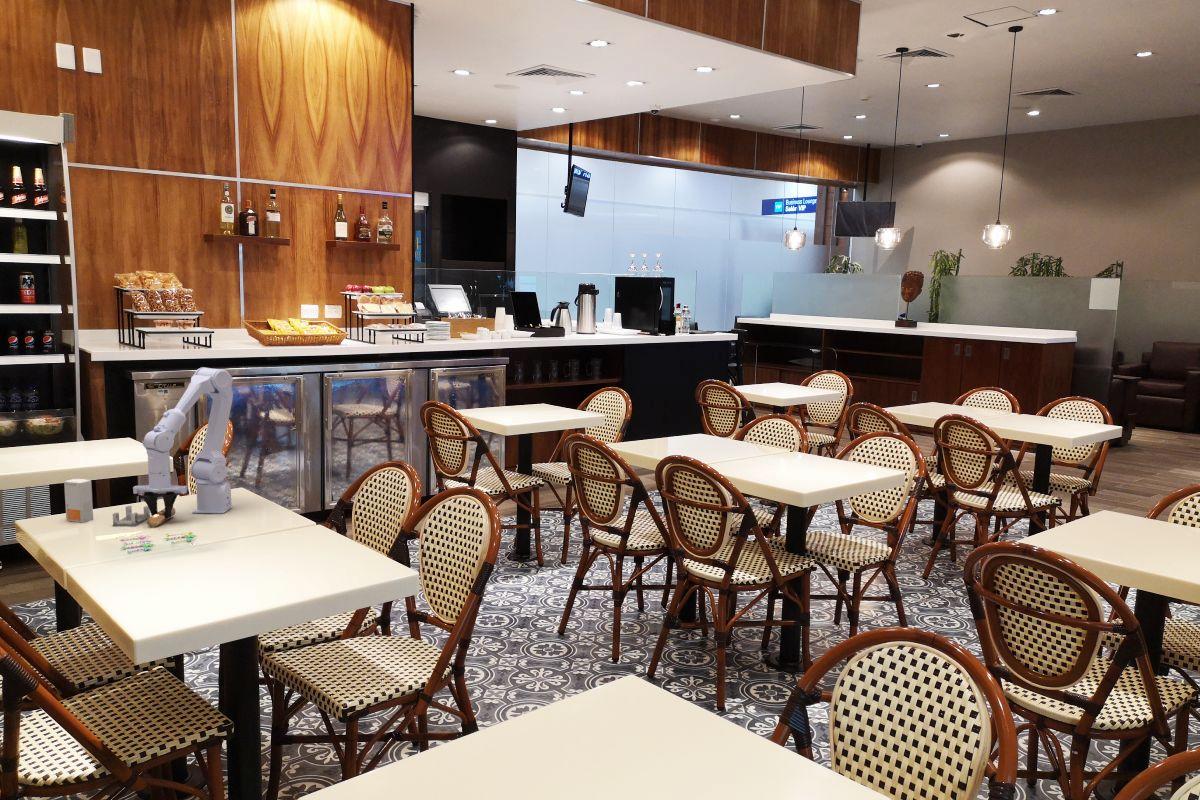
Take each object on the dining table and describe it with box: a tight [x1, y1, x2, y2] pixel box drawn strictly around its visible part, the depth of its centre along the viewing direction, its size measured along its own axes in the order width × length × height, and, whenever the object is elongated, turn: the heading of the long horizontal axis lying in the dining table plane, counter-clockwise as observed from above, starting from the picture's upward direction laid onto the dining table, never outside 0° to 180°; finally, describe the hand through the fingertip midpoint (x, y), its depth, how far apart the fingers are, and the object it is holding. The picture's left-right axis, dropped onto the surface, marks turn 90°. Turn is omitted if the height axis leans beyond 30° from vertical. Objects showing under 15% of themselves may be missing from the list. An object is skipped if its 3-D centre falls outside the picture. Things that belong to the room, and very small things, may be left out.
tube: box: [146, 507, 176, 528], centre depth 264 cm, size 12×3×3 cm, turn 3°
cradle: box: [112, 505, 151, 527], centre depth 263 cm, size 6×10×4 cm, turn 3°
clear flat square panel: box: [94, 530, 195, 554], centre depth 244 cm, size 30×30×2 cm
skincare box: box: [63, 478, 94, 524], centre depth 263 cm, size 6×4×12 cm
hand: (161, 517), depth 264 cm, fingers closed on tube, 3 cm apart
